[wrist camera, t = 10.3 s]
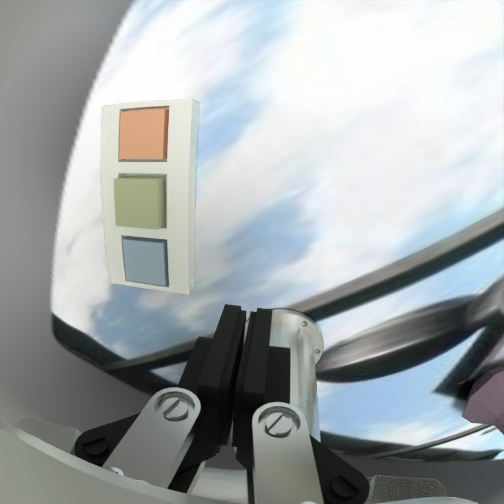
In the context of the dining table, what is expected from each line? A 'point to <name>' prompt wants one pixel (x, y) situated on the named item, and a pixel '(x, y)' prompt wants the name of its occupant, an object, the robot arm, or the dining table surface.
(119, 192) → the olive key
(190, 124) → the keypad
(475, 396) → the flask
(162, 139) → the terracotta key
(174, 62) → the dining table surface
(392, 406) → the dining table surface
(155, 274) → the slate blue key
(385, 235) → the dining table surface
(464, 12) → the dining table surface
